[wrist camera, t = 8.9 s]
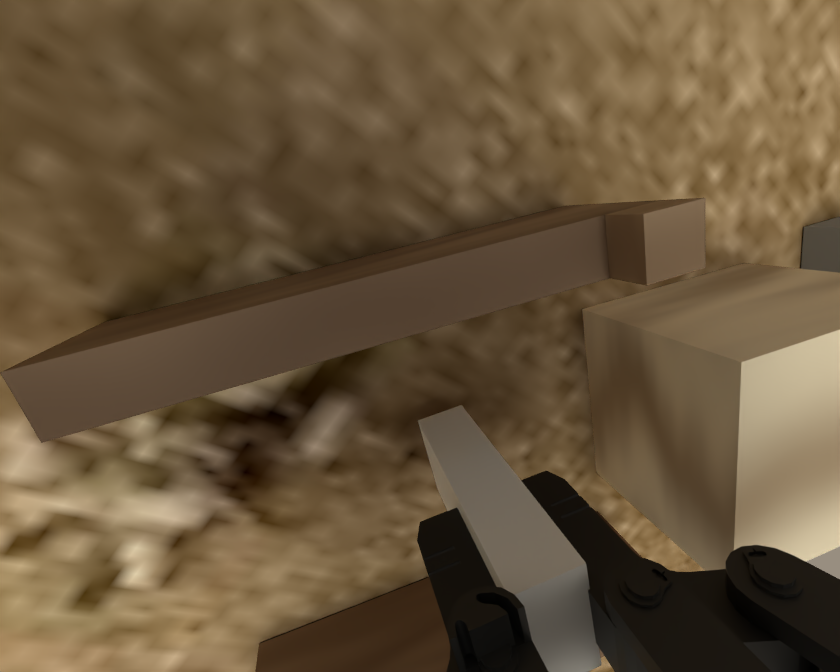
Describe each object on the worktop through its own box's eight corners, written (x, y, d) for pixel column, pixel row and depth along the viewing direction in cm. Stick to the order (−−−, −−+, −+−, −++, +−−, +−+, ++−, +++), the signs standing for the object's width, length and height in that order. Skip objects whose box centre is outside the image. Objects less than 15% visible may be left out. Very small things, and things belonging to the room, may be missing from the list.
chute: (104, 321, 11) (-56, 399, 6) (565, 205, 14) (705, 197, 9) (272, 671, 16) (253, 875, 11) (600, 539, 18) (706, 657, 13)
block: (580, 308, 15) (741, 362, 9) (741, 262, 16) (970, 286, 10) (594, 471, 17) (732, 594, 11) (735, 420, 18) (922, 509, 13)
